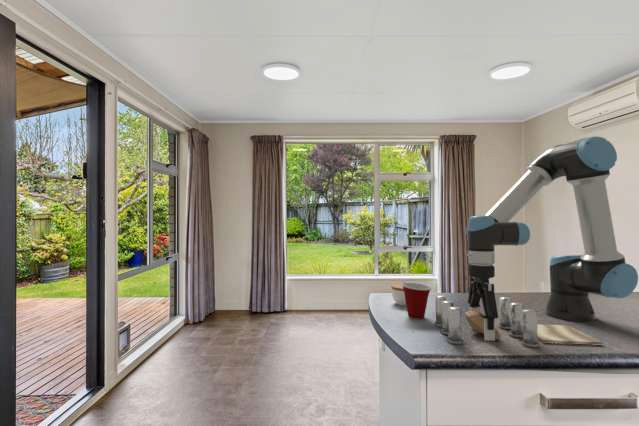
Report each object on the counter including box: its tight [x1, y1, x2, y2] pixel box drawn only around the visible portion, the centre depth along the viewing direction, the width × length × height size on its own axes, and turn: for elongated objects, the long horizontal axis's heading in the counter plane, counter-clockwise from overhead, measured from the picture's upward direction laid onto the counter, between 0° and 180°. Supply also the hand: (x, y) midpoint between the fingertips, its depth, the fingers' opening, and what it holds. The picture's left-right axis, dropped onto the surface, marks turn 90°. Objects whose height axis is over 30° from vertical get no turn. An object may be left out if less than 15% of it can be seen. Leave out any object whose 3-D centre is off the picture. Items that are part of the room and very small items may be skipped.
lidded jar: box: [390, 281, 406, 306], centre depth 146 cm, size 11×11×9 cm
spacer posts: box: [434, 294, 540, 349], centre depth 106 cm, size 25×20×10 cm
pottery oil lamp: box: [464, 309, 501, 341], centre depth 106 cm, size 9×12×7 cm
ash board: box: [537, 323, 603, 345], centre depth 105 cm, size 16×16×1 cm
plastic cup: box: [401, 282, 432, 320], centre depth 126 cm, size 11×11×12 cm
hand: (481, 333), depth 106 cm, fingers closed on pottery oil lamp, 11 cm apart
